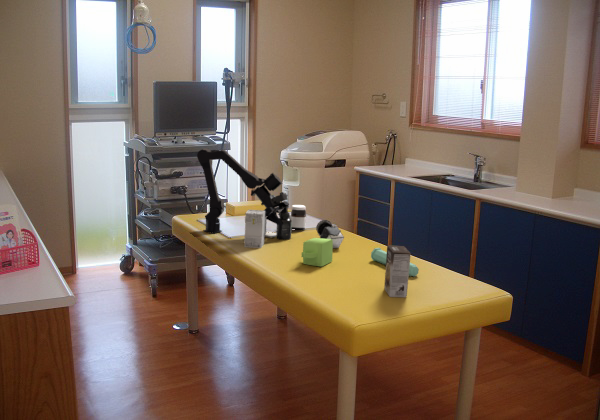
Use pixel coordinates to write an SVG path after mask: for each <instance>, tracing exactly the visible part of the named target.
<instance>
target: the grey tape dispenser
mask: <svg viewBox="0 0 600 420" xmlns="http://www.w3.org/2000/svg"><path fill="white" fill-rule="evenodd" d="M315 227H316V228H315V229H316V232H317V235H318V236H319V238H323V239H332V240H333V249H339V248H340V247H341V244H342V242H343V241H344V239H345V236H344V235H343V233H342V231H341V229H339V227H338V226H337V225H334V226H333V224H332V222H331V221H330V220H327V219H323V220H320V221H319V222H318V223H317V225H316V226H315Z"/></svg>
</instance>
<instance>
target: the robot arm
mask: <svg viewBox="0 0 600 420" xmlns="http://www.w3.org/2000/svg"><path fill="white" fill-rule="evenodd" d="M196 158H197V160H198V162H199V165H200V166H201V168H202V169H203V170H202V171H203V174H204V179H205V184H206V187H207V193H208V196H209V212H208V213H207V214H205V216H204V219H205V229H203V230H202V231H203V232H205V233H209V234H217V233H221V232H223V230H221V223H220V222H221V221H220V217H221V216H222V214H223V213H224V212H225V208H226V205H225V201H224V198H222V199H221V198H220V195H219V193H218V187H217V182H216V179H215V175H214V170H213V160H222V161H223V162H224V163H225V164H226V165H227V166H228V167H229V168H230V169H231V170H232V171H233V172H234V173H235V174H236V175H238V176H239V177H240V179H241V181H242V183H244V185H245V186H246V188H247V189H251V191H250V197H254V196H256V198H258V199H259V201H260V202H261V203H260V204H261V206H264V207H265V209H264V210H263V211H265V217H267V219H266V221H269V222H271V223H274V224H276V226H277V225H279V226H282V225H283V224H282V222H281V221H280V219H279V218H280V217H279V213H280V212H288V213H289V211H288V210H289V207H290V206H289V205H290V203H289V202H288V201H287V200H288V194H287V192H285V191H282V192H280V193H279V194H278V195H275V194H271V191H272V192H274V191H276V190H277V189H278V188H279V187H280V186H281V185H282V184H283V181H282V180H281V178H280V177H279V176H278V175H276V174H275V173H274V172H272V173H270V175H268V176H267V177H266V178H265V179H264V178H260V177H258V175H256V174H255V173H253V172H251V171H250V170H247V169H246V168H245V167H244V166H242V164H240V162H238V161H237V160H236V159H235V158H234V157H233V156H232V155H231V154H229V152H228V151H227V150H225V149H209V148H206V147H205V148H203V149H200V150H199V151H198V152H197V154H196ZM253 189H254V190H253ZM289 218H290V217H289Z"/></svg>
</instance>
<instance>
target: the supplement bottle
mask: <svg viewBox="0 0 600 420" xmlns="http://www.w3.org/2000/svg"><path fill="white" fill-rule="evenodd" d="M278 214H279V215H278V218H279V219H280V221H281V222H282V224H283V225H282V226H279V225H277V224H276V231H275V232H276V237H275V238H277V240H280V241H288V240H291V237H292V229H291V226H292V221H291V219H290V218H289V217H290V214H291V212H289V211H288V212H280V213H278Z"/></svg>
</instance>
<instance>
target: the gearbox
mask: <svg viewBox="0 0 600 420" xmlns="http://www.w3.org/2000/svg"><path fill="white" fill-rule="evenodd" d="M302 243H303V244H302V246H303V248H302V252H301V254H300V255H301V258H302V264H304V265H309V266H314V267H324V266H325V265H328V264H330V263H332V262H333V249H334V248H333V240H332V239H323V238H320V237H313V238H310V239H307V240H306V241H304V242H302Z"/></svg>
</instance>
